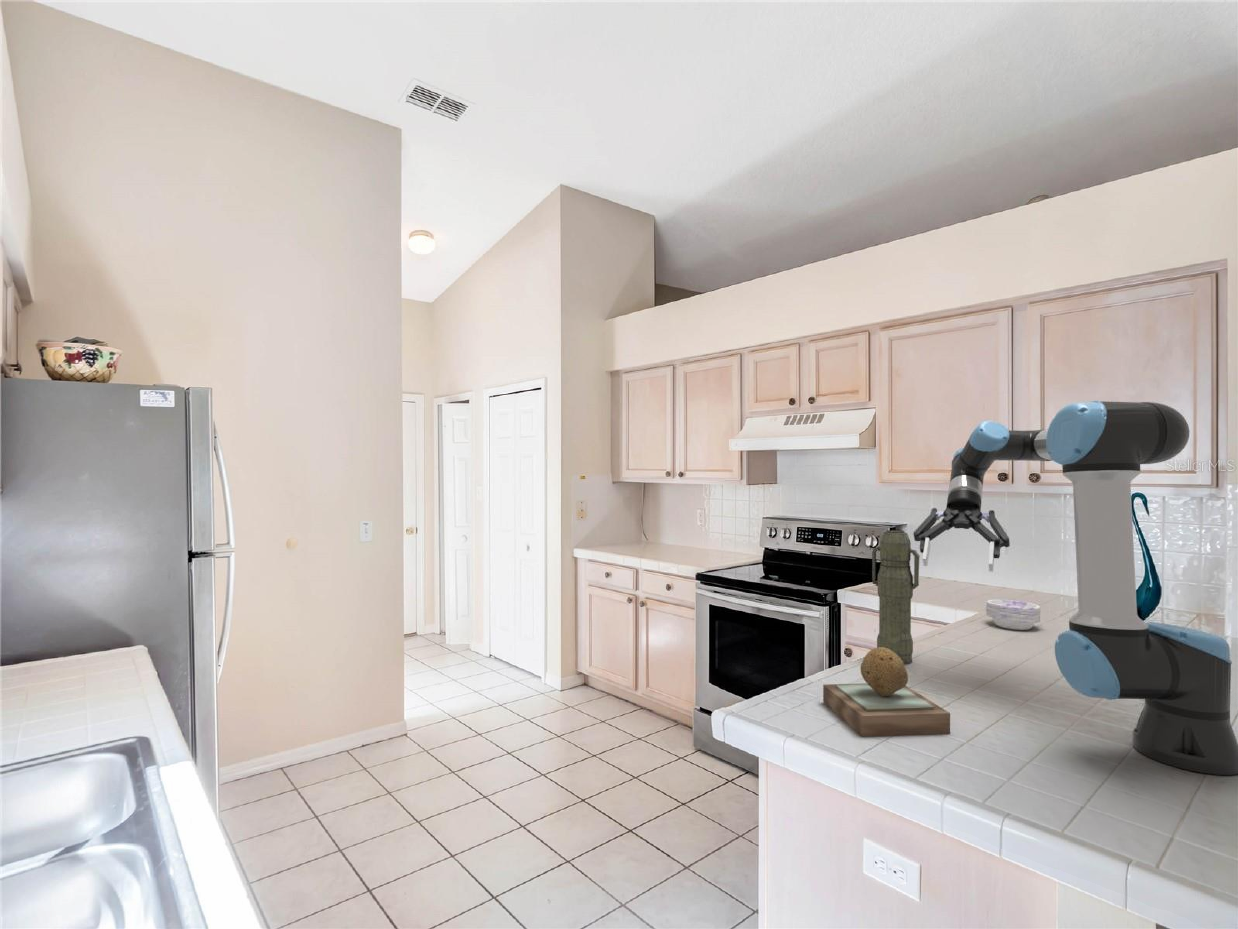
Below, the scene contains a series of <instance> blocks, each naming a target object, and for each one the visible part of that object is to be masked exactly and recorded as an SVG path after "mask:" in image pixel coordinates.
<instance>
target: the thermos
mask: <svg viewBox="0 0 1238 929" xmlns="http://www.w3.org/2000/svg"><path fill="white" fill-rule="evenodd" d="M879 541H880V542H879V546H876V547H875V548H874V549H872V553H871V574H872V575H871V577H872V578H871V579H872V580H871V581H872V585H875V586H876V587H877V595H878V597H879V598H878V599H879V600H878V601H879V605H878V607H879V612H878V618H879V619H878V620H879V622H878V625H879V626H878V628H879V629H878V634H877V637H876V648H877V647H884V648H888V649H890V650H891V651H893V652H894V653H896V654H897V655H898V656H899V657H900V658H901V660H902V661H903V663H904V666H905V665H906V664H907V665H910V664H912V663H913V652H914V641H913V636H912V631H911V630H912V629H911V628H912V626H911V625H912V621H911V620H912V618H911V617H912V614H911V613H912V604H911V603H912V599H913V596H914V590H915V589H916V588H918V587H919V586H920V584H919V583H920V582H919V581H920V580H919V578H920V577H919V576H920V554H919V553H918V551H917V550H916V549H912V548H911V540H910V536H909V534H908V532H905V531H904V530H898V529H897V530H892V529H891V530H890V529H889V530H888V529H887V530H885V531H883V532H882V535H881V538H880V540H879ZM877 551H878V552H880V553H879V554H880V555H879V559H880V564H879V570H878V573H877ZM911 554H912V555H913V559H914V561H913V563H914V564H913V565H914V567H913V569H914V570H913V572H914V573H913V574H912V570H911V565H910V564H911V563H910V562H911V556H912V555H911ZM876 576H877V577H876Z"/></svg>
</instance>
